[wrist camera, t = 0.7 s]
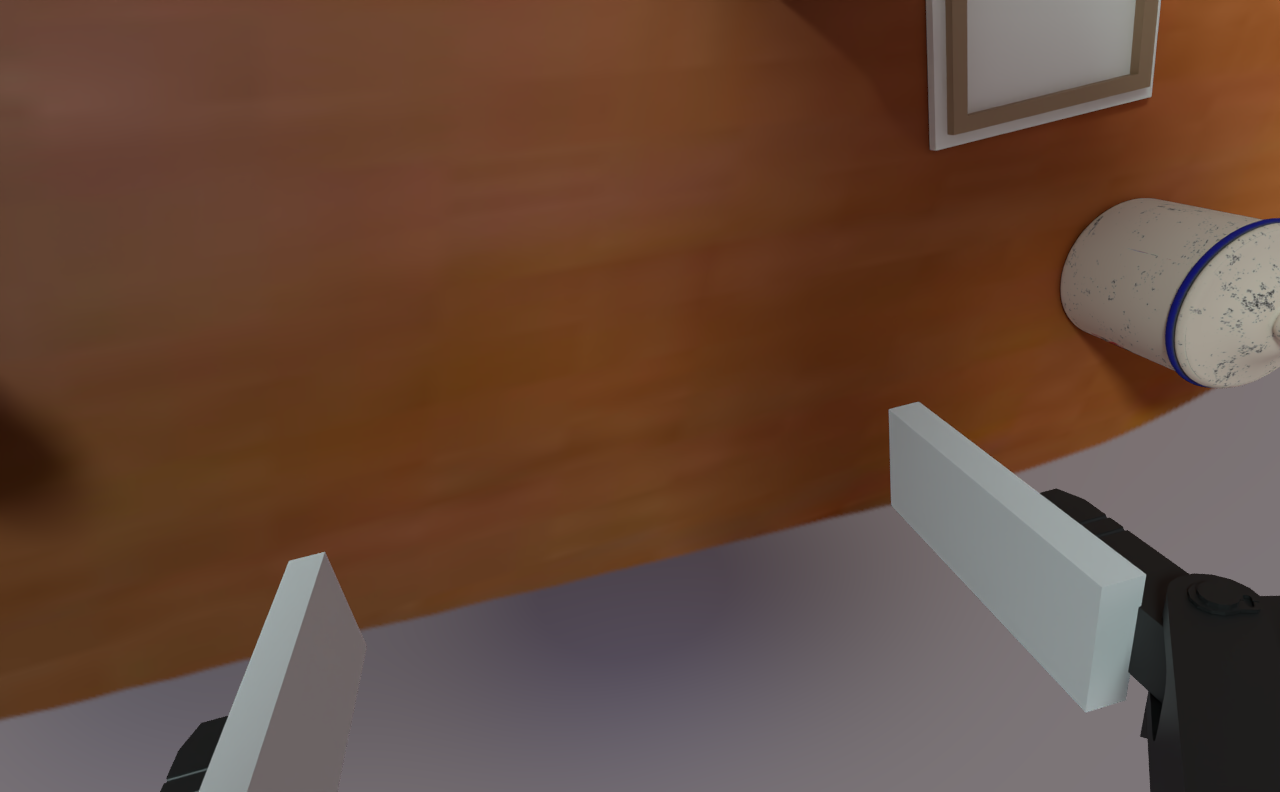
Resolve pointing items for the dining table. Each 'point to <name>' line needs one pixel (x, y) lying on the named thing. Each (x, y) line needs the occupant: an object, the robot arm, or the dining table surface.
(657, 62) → the dining table surface
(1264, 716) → the robot arm
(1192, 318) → the teacup with lid
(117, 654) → the dining table surface
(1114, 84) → the board
